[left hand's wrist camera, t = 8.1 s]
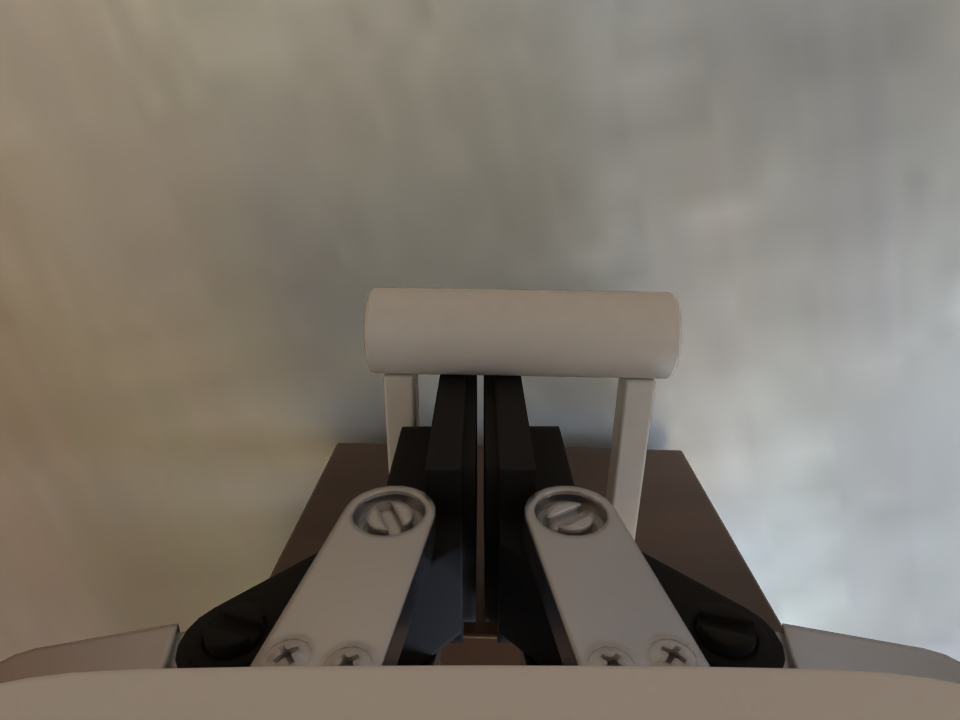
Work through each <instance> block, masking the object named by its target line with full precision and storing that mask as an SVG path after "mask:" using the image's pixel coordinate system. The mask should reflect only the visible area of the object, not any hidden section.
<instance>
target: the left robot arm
mask: <svg viewBox="0 0 960 720" xmlns="http://www.w3.org/2000/svg"><path fill="white" fill-rule="evenodd" d="M476 556H477V375H449V374H440V379H439V385H438V391H437V397H436V403H435V409H434V415H433V421H432V427H402V429H401V432H400V435H399V439H398V443H397V447H396V450H395V454H394V458H393V462H392V466H391V469H390V473H389V477H388V481H387V484H386V486H385V487H380V488H375V489H372V490H369V491H367V492H364V493H362V494H360V495H359V496H357V497H356V498H354V499H353V500H352V501H351V502H350V503H349V504H348V505H347V507H346V508H345V509H344V511H343V513H342V514H341V516H340V518H339V519H338V521H337V523H336V524H335V526H334V528H333V529H332V531H331V532H330V534H329V536H328V537H327V539H326V541H325V542H324V544H323V546H322V547H321V549H320V551H319V552H317V553H316V554H314V555H312V556H310V557H308V558H306V559H304V560H303V561H301V562H299V563H297V564H295V565H293V566H291V567H290V568H288V569H286V570H284V571H282V572H280V573H278V574H277V575H275V576H273V577H271V578H269V579H267V580H265V581H264V582H262V583H260V584H258V585H256V586H254V587H252V588H251V589H249V590H247V591H245V592H243V593H241V594H239V595H238V596H236V597H234V598H232V599H230V600H228V601H227V602H225V603H223V604H221V605H219V606H217V607H215V608H214V609H212V610H211V611H209V612H208V613H206V614H205V615H203V616H202V617H200V618H199V619H198V620H197V621H196V622H195V623H194V624H193V625H192V626H191V627H190V628H189V629H188V630H187V631H186V632H180V629H179V625H178V624H172V625H166V626H161V627H155V628H149V629H144V630H138V631H132V632H127V633H121V634H115V635H109V636H104V637H98V638H92V639H87V640H81V641H75V642H69V643H64V644H58V645H52V646H47V647H41V648H36V649H32V650H29V651H26V652H22V653H19V654H15V655H13V656H11V657H9V658H7V659H5V660H3V661H2V662H0V720H960V662H959V661H957V660H955V659H953V658H951V657H949V656H947V655H945V654H941V653H938V652H935V651H931V650H928V649H924V648H919V647H913V646H908V645H902V644H896V643H891V642H885V641H879V640H874V639H868V638H862V637H857V636H851V635H845V634H839V633H834V632H828V631H822V630H817V629H811V628H805V627H800V626H794V625H788V624H783V623H782V627H781V631H780V632H775V631H774V630H773V629H772V628H771V627H770V626H769V625H768V624H767V623H766V622H765V621H764V620H763V619H762V618H760V617H759V616H757V615H756V614H754V613H753V612H751V611H750V610H748V609H747V608H745V607H743V606H741V605H740V604H738V603H736V602H734V601H732V600H730V599H728V598H727V597H725V596H723V595H721V594H719V593H717V592H716V591H714V590H712V589H710V588H708V587H706V586H704V585H703V584H701V583H699V582H697V581H695V580H693V579H691V578H690V577H688V576H686V575H684V574H682V573H680V572H678V571H677V570H675V569H673V568H671V567H669V566H667V565H666V564H664V563H662V562H660V561H658V560H656V559H654V558H653V557H651V556H649V555H647V554H645V553H643V552H641V551H640V549H639V547H638V546H637V544H636V542H635V541H634V539H633V537H632V536H631V534H630V532H629V531H628V529H627V527H626V526H625V524H624V523H623V521H622V519H621V518H620V516H619V514H618V513H617V511H616V509H615V508H614V507H613V505H612V504H611V503H610V502H609V501H608V500H607V499H606V498H604V497H603V496H601V495H600V494H598V493H596V492H593V491H591V490H588V489H585V488H580V487H575V486H574V482H573V478H572V474H571V470H570V467H569V463H568V459H567V455H566V452H565V448H564V444H563V440H562V436H561V433H560V429H559V427H558V426H529V423H528V417H527V411H526V405H525V399H524V393H523V386H522V380H521V376H502V375H484V591H485V622H497V642H498V643H513V644H514V645H515V646H516V647H518V648H519V649H520V654H519V661H520V666H518V665H442V666H440V661H441V653H440V650H441V649H442V648H443V647H445V646H446V645H447V644H448V643H463V630H464V622H476Z"/></svg>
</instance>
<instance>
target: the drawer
mask: <svg viewBox="0 0 960 720" xmlns="http://www.w3.org/2000/svg"><path fill="white" fill-rule="evenodd" d="M681 343H682V320H681V313H680V308H679V304H678V301H677V299H676V297H675V296H674V295H673V294H671V293H669V292H628V291H564V290H501V289H437V288H374V289H372V290H371V291H370V293H369V296H368V299H367V303H366V309H365V318H364V345H365V354H366V359H367V363H368V366H369V369H370V370H371V371H372V372H374V373H385V375H384V378H383V379H384V397H385V414H386V431H387V444H359V443H338V444H337V446H336V448H335V450H334V452H333V454H332V456H331V457H330V459H329V461H328V463H327V465H326V467H325V469H324V471H323V473H322V475H321V477H320V479H319V481H318V483H317V485H316V487H315V489H314V491H313V493H312V495H311V497H310V499H309V501H308V503H307V505H306V507H305V509H304V511H303V513H302V515H301V517H300V519H299V521H298V523H297V525H296V527H295V529H294V531H293V533H292V535H291V536H290V538H289V540H288V542H287V544H286V546H285V548H284V550H283V552H282V554H281V556H280V558H279V560H278V562H277V564H276V566H275V568H274V570H273V572H272V574H271V576H270V578H271V577H273V576H275V575H277V574H278V573H280V572H282V571H284V570H286V569H288V568H290V567H291V566H293V565H295V564H297V563H299V562H301V561H303V560H304V559H306V558H308V557H310V556H312V555H314V554H316V553H317V552H319V551H320V549H321V547H322V546H323V544H324V542H325V541H326V539H327V537H328V536H329V534H330V532H331V531H332V529H333V528H334V526H335V524H336V523H337V521H338V519H339V518H340V516H341V514H342V513H343V511H344V509H345V508H346V507H347V505H348V504H349V503H350V502H351V501H352V500H353V499H354V498H356V497H357V496H359V495H360V494H362V493H364V492H367V491H369V490H372V489H375V488H380V487H385V486H386V484H387V481H388V477H389V473H390V469H391V466H392V462H393V458H394V454H395V450H396V447H397V443H398V439H399V435H400V432H401V429H402V427H419V398H418V374H449V375H502V376H555V377H608V378H619V382H618V391H617V400H616V410H615V419H614V428H613V437H612V447H611V449H590V448H565V452H566V455H567V459H568V463H569V467H570V470H571V474H572V478H573V482H574V486H575V487H580V488H585V489H588V490H591V491H593V492H596V493H598V494H600V495H601V496H603V497H604V498H606V499H607V500H608V501H609V502H610V503H611V504H612V505H613V507H614V508H615V509H616V511H617V513H618V514H619V516H620V518H621V519H622V521H623V523H624V524H625V526H626V527H627V529H628V531H629V532H630V534H631V536H632V537H633V539H634V541H635V542H636V544H637V546H638V547H639V549H640V551H641V552H643V553H645V554H647V555H649V556H651V557H653V558H654V559H656V560H658V561H660V562H662V563H664V564H666V565H667V566H669V567H671V568H673V569H675V570H677V571H678V572H680V573H682V574H684V575H686V576H688V577H690V578H691V579H693V580H695V581H697V582H699V583H701V584H703V585H704V586H706V587H708V588H710V589H712V590H714V591H716V592H717V593H719V594H721V595H723V596H725V597H727V598H728V599H730V600H732V601H734V602H736V603H738V604H740V605H741V606H743V607H745V608H747V609H748V610H750V611H751V612H753V613H754V614H756V615H757V616H759V617H760V618H762V619H763V620H764V621H765V622H766V623H767V624H768V625H769V626H770V627H771V628H772V629H773V630H774V631H775V632H780V631H781V627H782V625H781V623H780V621H779V620H778V618H777V616H776V614H775V613H774V611H773V609H772V607H771V606H770V604H769V602H768V601H767V599H766V597H765V595H764V594H763V592H762V590H761V588H760V587H759V585H758V583H757V581H756V580H755V578H754V576H753V574H752V573H751V571H750V569H749V567H748V566H747V564H746V562H745V561H744V559H743V557H742V555H741V554H740V552H739V550H738V548H737V547H736V545H735V543H734V541H733V540H732V538H731V536H730V534H729V533H728V531H727V529H726V527H725V526H724V524H723V522H722V520H721V519H720V517H719V515H718V514H717V512H716V510H715V508H714V507H713V505H712V503H711V501H710V500H709V498H708V496H707V494H706V493H705V491H704V489H703V487H702V486H701V484H700V482H699V480H698V479H697V477H696V475H695V473H694V472H693V470H692V468H691V467H690V465H689V463H688V461H687V460H686V458H685V456H684V454H683V453H682V451H680V450H647V445H648V438H649V430H650V423H651V415H652V408H653V400H654V393H655V385H656V382H655V380H654V378H660V379H665V378H668V377H670V376H671V375H672V374H673V373H674V371H675V369H676V367H677V364H678V360H679V356H680V351H681ZM440 653H441V661H440V666H442V665H518V666H520V661H519V654H520V649H519V648H518V647H516V646H515V645H514V644H513V643H498V642H497V622H485V591H484V446H477V556H476V622H464V630H463V643H448V644H447V645H446V646H445V647H443V648H442V649H441V650H440Z"/></svg>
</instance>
